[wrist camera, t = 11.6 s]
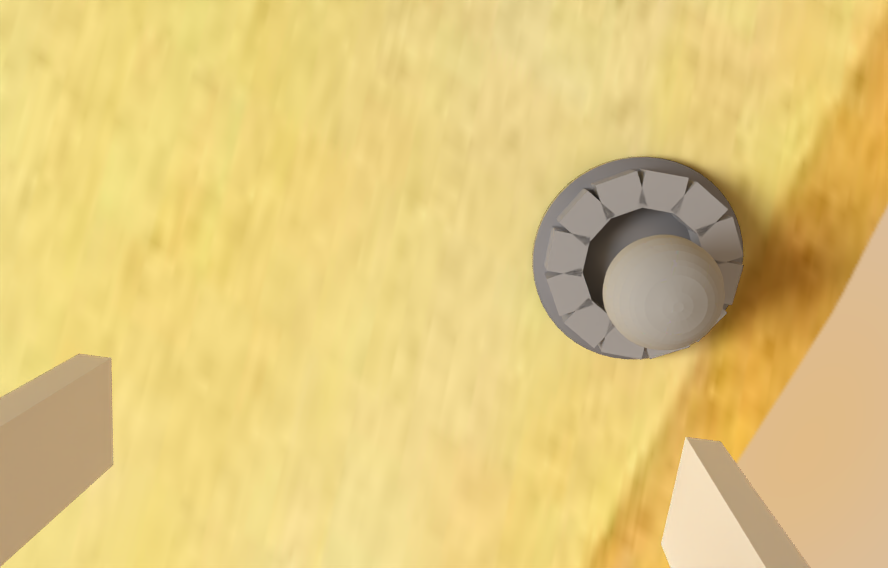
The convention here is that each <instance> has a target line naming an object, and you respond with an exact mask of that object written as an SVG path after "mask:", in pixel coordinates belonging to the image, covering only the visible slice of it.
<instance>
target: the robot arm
mask: <svg viewBox="0 0 888 568" xmlns="http://www.w3.org/2000/svg"><path fill="white" fill-rule="evenodd" d="M112 465H113V427H112V372H111V358H107V357H100V356H92V355H85V354H78V355H76V356H74V357H72V358H70V359H69V360H67V361H65V362H63V363H62V364H60V365H58V366H56V367H54V368H53V369H51V370H49V371H47V372H45V373H44V374H42V375H40V376H38V377H37V378H35V379H33V380H31V381H29V382H28V383H26V384H24V385H22V386H20V387H19V388H17V389H15V390H13V391H11V392H10V393H8V394H6V395H4V396H3V397H1V398H0V566H2V565H3V564H4V563H5V562H6V561H7V560H8V559H9V558H10V557H12V556H13V555H14V554H15V553H16V552H17V551H18V550H19V549H20V548H22V547H23V546H24V545H25V544H26V543H27V542H28V541H29V540H30V539H31V538H33V537H34V536H35V535H36V534H37V533H38V532H39V531H40V530H41V529H43V528H44V527H45V526H46V525H47V524H48V523H49V522H50V521H51V520H53V519H54V518H55V517H56V516H57V515H58V514H59V513H60V512H61V511H63V510H64V509H65V508H66V507H67V506H68V505H69V504H70V503H71V502H73V501H74V500H75V499H76V498H77V497H78V496H79V495H80V494H81V493H83V492H84V491H85V490H86V489H87V488H88V487H89V486H90V485H91V484H92V483H94V482H95V481H96V480H97V479H98V478H99V477H100V476H101V475H102V474H104V473H105V472H106V471H107V470H108V469H109V468H110V467H111V466H112ZM661 545H662V548H663V550H664V553H665V555H666V558H667V560H668V563H669V565H670V568H810V566H809V565H808V564H807V562H806V561H805V559H804V558H803V557H802V555H801V554H800V552H799V551H798V549H797V548H796V547H795V545H794V544H793V543H792V541H791V540H790V538H789V537H788V535H787V534H786V533H785V532H784V530H783V528H782V527H781V526H780V524H779V523H778V521H777V520H776V519H775V517H774V516H773V514H772V513H771V512H770V510H769V509H768V507H767V506H766V505H765V503H764V502H763V500H762V499H761V498H760V496H759V495H758V493H757V492H756V491H755V489H754V488H753V487H752V485H751V484H750V482H749V481H748V479H747V478H746V476H745V475H744V474H743V472H742V471H741V469H740V468H739V467H738V465H737V464H736V462H735V461H734V460H733V458H732V457H731V455H730V454H729V453H728V451H727V450H726V448H725V447H724V446H723V444H722V443H721V442H719V441H712V440H705V439H697V438H690V437H686V438H685V442H684V447H683V451H682V455H681V460H680V464H679V468H678V473H677V477H676V481H675V486H674V490H673V494H672V499H671V503H670V507H669V512H668V516H667V521H666V525H665V529H664V534H663V538H662V542H661Z"/></svg>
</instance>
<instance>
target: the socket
mask: <svg viewBox="0 0 888 568" xmlns="http://www.w3.org/2000/svg"><path fill="white" fill-rule="evenodd" d="M654 235H674V236H679V237H682V238H685V239H688V240H690V241H692V242H693V243H695V244H697V245H698V246H700V247H701V248H703V249H704V250H705V251H707V252H708V253H709V254H710V255H711V256H712V258H713V259H714V260H715V262H716V263H717V265H718V267H719V269H720V271H721V274H722V277H723V281H724V290H725V298H724V305H723V309H722V312H721V314H720V316H719V319H718V320H717V322H716V324H717V323H718V322H719V321H720V320H721V319H722V318H723V317H724V316H725V315H726V314H727V312H726V311H725V310H726V308H727V307H728V305H732V303H733V300H734V297H735V293H736V290H737V286H738V283H739V279H740V276H741V273H742V269H743V266H744V265H742V262H743V257H744V256H743V243H742V236H741V231H740V227H739V224H738V221H737V218H736V216H735V214H734V212H733V210H732V208H731V206H730V204H729V202H728V201H727V200H726V198H725V197H724V195H723V194H722V193H721V192H720V191H719V190H718V188H717V187H716V186H715V185H714V184H713V183H712V182H710V181H709V180H708V179H707V178H705V177H704V176H703V175H701V174H700V173H698V172H696V171H694V170H693V169H691V168H689V167H687V166H684V165H682V164H679V163H677V162H673V161H669V160H665V159H660V158H651V157H629V158H622V159H616V160H613V161H609V162H606V163H603V164H601V165H598V166H596V167H594V168H591V169H589V170H588V171H586V172H584V173H583V174H581V175H579V176H578V177H577V178H575V179H574V180H573V181H571V182H570V183H569V184H568V185H567V186H566V187H565V188H564V189H563V190H562V191H561V192H560V193H559V194H558V195H557V196H556V197H555V199H554V200H553V201H552V203H551V204H550V205H549V207H548V209H547V210H546V212H545V214H544V216H543V218H542V220H541V222H540V225H539V227H538V230H537V234H536V237H535V241H534V247H533V266H532V267H533V274H534V281H535V284H536V288H537V292H538V295H539V297H540V300H541V302H542V304H543V307H544V308H545V310H546V312H547V313H548V315H549V317H550V318H551V319H552V321H553V322H554V323H555V324H556V326H557V327H558V328H559V329H560V330H561V331H562V332H563V333H564V334H565V335H566V336H568V337H569V338H570V339H572V340H573V341H574V342H576V343H577V344H579V345H581V346H583V347H585V348H586V349H588V350H591V351H593V352H596V353H598V354H601V355H605V356H609V357H613V358H621V359H644V358H650V359H652V358H655V357H658V356H662V355H665V354H668V353H671V352H675V351H678V350H681V349H684V348H688V347H690V346H689V345H688V346H686V347H683V348H679V349H674V350H654V349H649V348H645V347H642V346H639V345H637V344H635V343H633V342H631V341H630V340H628V339H627V338H626V337H624V336H623V335H622V334H621V333H620V332H619V331H618V330H617V328H616V327H615V326H614V325H613V323H612V322H611V320H610V319H609V317H608V315H607V312H606V310H605V307H604V302H603V284H604V279H605V275H606V272H607V270H608V267H609V266H610V264H611V262H612V261H613V259H614V258H615V257H616V255H617V254H618V253H619V252H620V251H621V250H622V249H624V248H625V247H626V246H628V245H629V244H631V243H633V242H635V241H637V240H639V239H642V238H645V237H649V236H654ZM698 341H699V340H698ZM698 341H697V342H698Z"/></svg>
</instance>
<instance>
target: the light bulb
mask: <svg viewBox="0 0 888 568" xmlns="http://www.w3.org/2000/svg"><path fill="white" fill-rule="evenodd" d="M724 298H725V290H724V281H723V277H722V274H721V271H720V269H719V267H718V265H717V263H716V262H715V260H714V259H713V258H712V256H711V255H710V254H709V253H708V252H707V251H705V250H704V249H703V248H701V247H700V246H698V245H697V244H695V243H693V242H692V241H690V240H688V239H685V238H682V237H679V236H674V235H654V236H649V237H645V238H642V239H639V240H637V241H635V242H633V243H631V244H629V245H628V246H626V247H625V248H624V249H622V250H621V251H620V252H619V253H618V254H617V255H616V257H615V258H614V259H613V261H612V262H611V264H610V266H609V267H608V270H607V272H606V275H605V279H604V284H603V302H604V307H605V310H606V312H607V315H608V317H609V319H610V320H611V322H612V323H613V325H614V326H615V327H616V328H617V330H618V331H619V332H620V333H621V334H622V335H623V336H624V337H626V338H627V339H628V340H630V341H631V342H633V343H635V344H637V345H639V346H642V347H645V348H649V349H654V350H674V349H679V348H683V347H686V346H688V345H691V344H693V343H695V342H696V341H698V340H700V339H701V338H702V337H704V336H705V335H706V334H707V333H708V332H709V331H710V330H711V329H712V328H713V326H714V325H715V324H716V322H717V320H718V319H719V316H720V314H721V312H722V309H723V305H724Z"/></svg>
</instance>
